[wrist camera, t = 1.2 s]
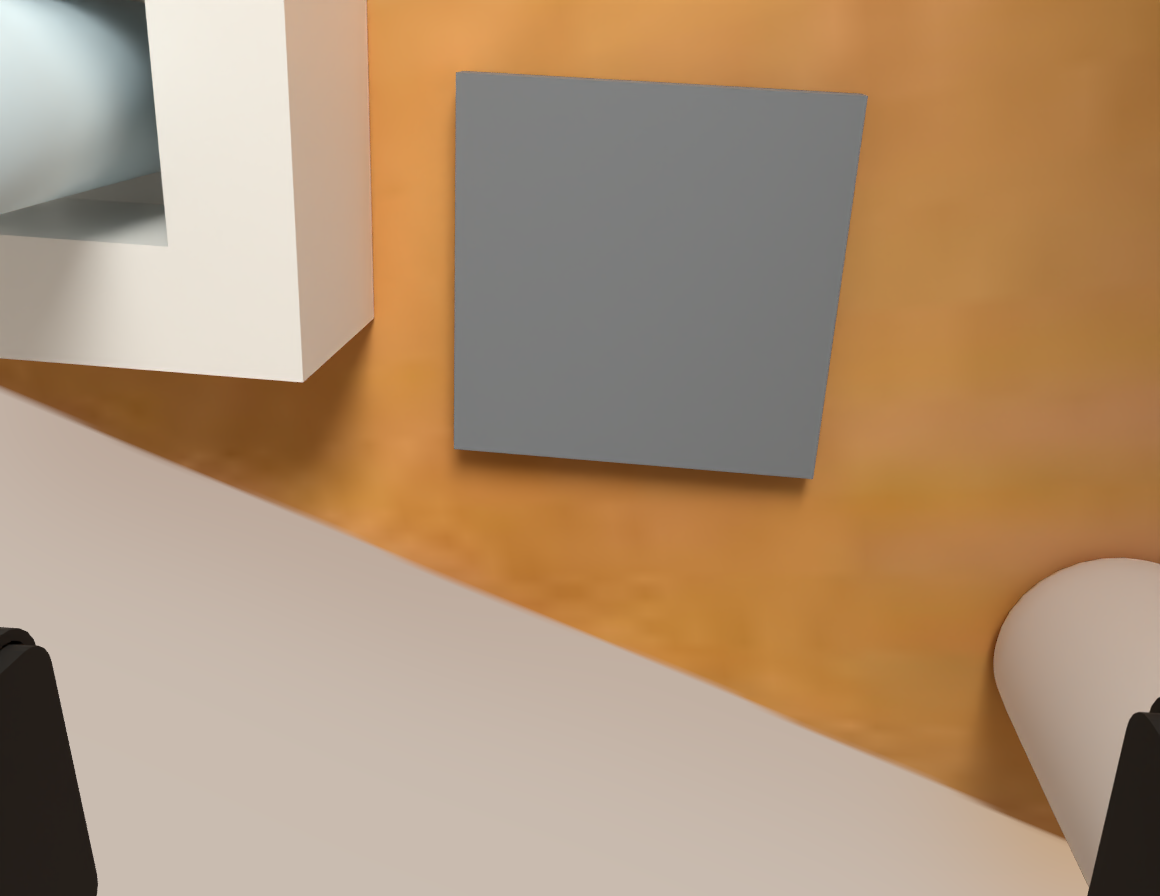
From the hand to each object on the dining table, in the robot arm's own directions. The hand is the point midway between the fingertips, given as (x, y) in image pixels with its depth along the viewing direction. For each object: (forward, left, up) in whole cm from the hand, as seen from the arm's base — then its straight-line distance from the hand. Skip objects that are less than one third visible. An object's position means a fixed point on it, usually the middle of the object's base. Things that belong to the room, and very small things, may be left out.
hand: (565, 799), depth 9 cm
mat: (+1, 0, -26) cm, 26 cm away
